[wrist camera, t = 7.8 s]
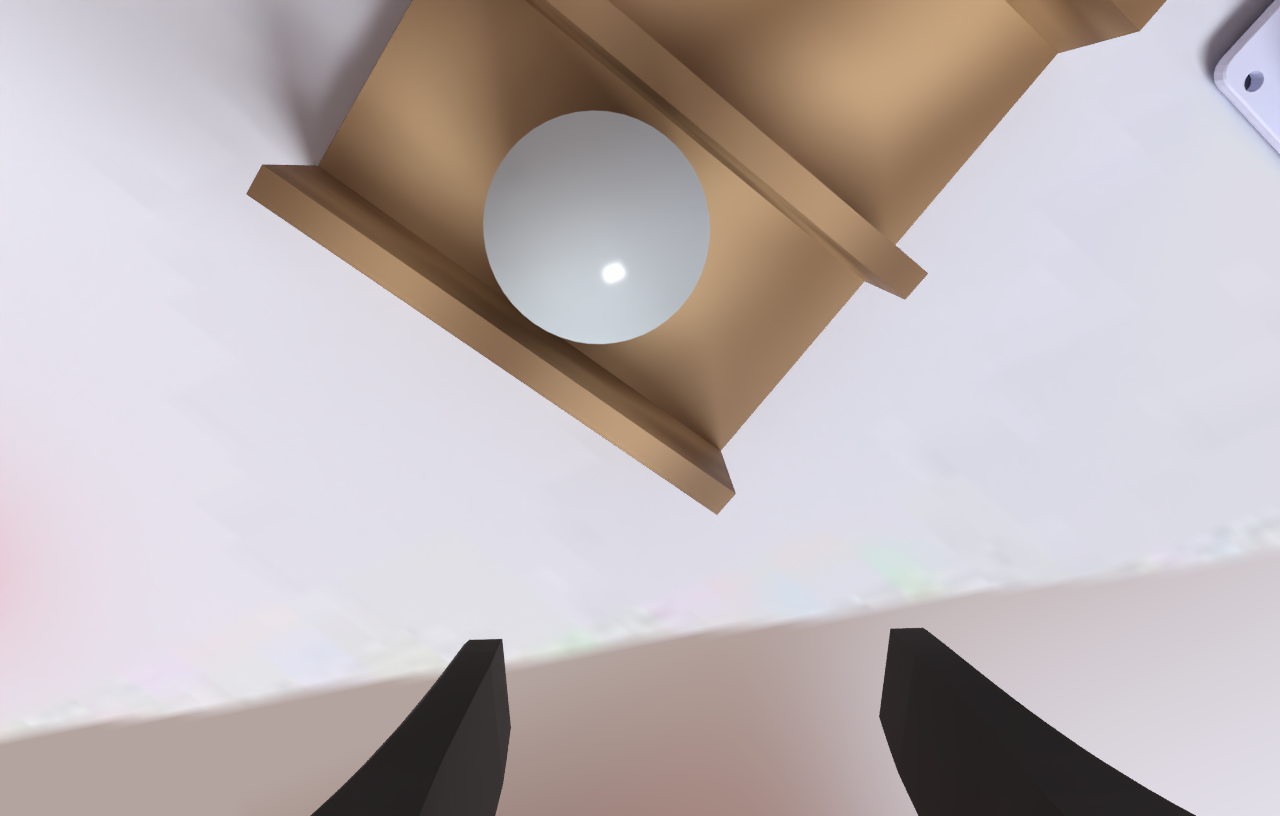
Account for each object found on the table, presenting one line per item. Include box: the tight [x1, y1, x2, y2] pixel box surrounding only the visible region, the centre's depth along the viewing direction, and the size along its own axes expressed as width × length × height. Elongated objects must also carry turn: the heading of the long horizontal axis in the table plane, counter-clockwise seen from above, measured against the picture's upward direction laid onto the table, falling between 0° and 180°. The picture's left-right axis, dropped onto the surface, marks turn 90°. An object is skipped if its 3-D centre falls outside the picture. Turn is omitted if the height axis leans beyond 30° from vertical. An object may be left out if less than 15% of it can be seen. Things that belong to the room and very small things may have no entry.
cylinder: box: [483, 111, 710, 344], centre depth 16 cm, size 4×4×6 cm
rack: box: [247, 0, 1166, 514], centre depth 17 cm, size 14×16×4 cm
